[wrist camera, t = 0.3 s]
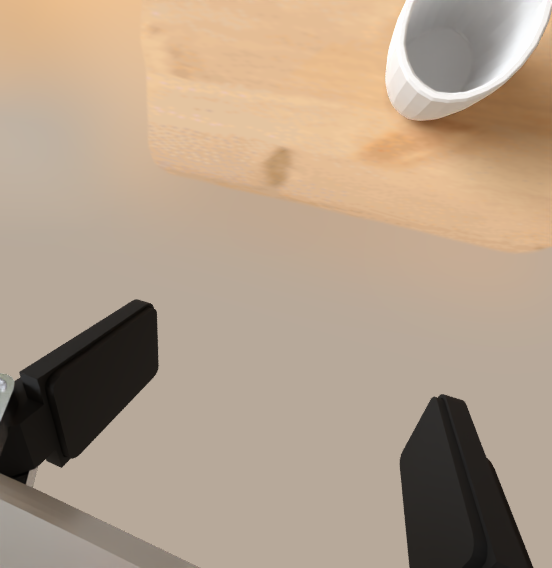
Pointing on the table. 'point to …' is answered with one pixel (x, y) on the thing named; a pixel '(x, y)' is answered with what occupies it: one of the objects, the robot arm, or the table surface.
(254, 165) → the table surface
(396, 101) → the cup
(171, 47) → the table surface
